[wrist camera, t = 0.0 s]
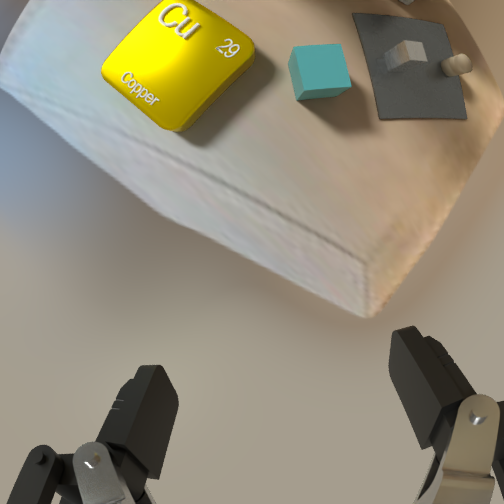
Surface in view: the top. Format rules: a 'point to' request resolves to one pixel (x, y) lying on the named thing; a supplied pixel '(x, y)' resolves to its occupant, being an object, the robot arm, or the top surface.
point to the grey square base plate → (409, 67)
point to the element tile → (178, 62)
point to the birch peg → (456, 65)
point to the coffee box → (406, 1)
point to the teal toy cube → (318, 71)
